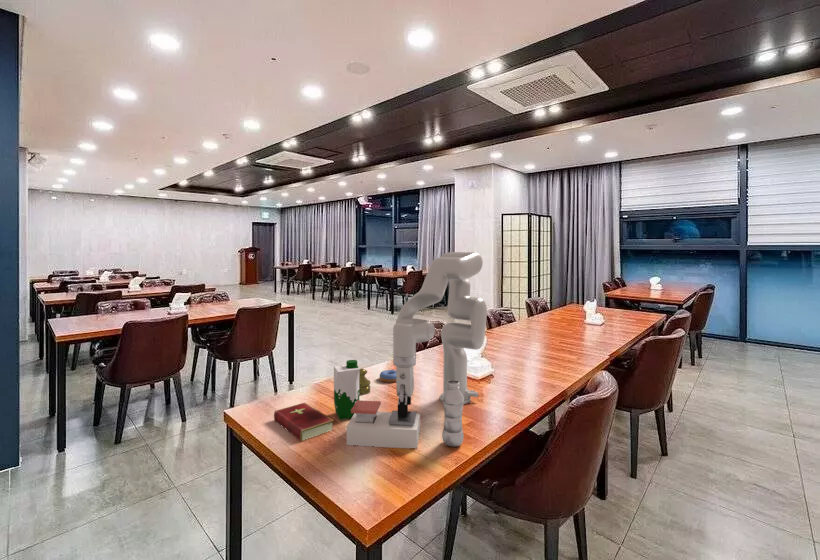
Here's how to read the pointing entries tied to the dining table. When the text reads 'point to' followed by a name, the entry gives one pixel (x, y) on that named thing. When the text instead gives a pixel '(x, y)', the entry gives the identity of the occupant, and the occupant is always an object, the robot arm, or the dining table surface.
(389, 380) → the doughnut
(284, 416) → the hardcover book
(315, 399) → the dining table surface
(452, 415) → the plastic bottle
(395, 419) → the grey square push button
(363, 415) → the red square push button
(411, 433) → the white button box
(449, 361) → the robot arm
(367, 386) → the gold rounded piece
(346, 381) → the milk carton
